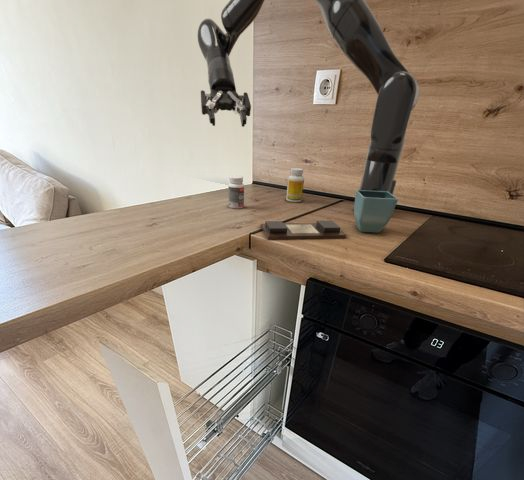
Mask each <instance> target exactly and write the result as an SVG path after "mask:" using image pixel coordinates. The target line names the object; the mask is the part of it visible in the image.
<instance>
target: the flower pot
mask: <svg viewBox="0 0 524 480" xmlns="http://www.w3.org/2000/svg"><path fill="white" fill-rule="evenodd" d="M398 201H399V197H396V196H395V195H394V194H393V195H392V194H391V193H390V192H385V191H366V190H359V189H356V190H355V196H354V206H353V215H354V216H353V217H354V222H355V225H356V227H357V229H358V230H359V232H361V233H375V234H379V233H380V232H381V231H382V230H384V229H385V228H386V226H387V224H388V223H389V222H390V220H391V218H392V215H393V213H394V211H395V209H396V207H397V203H398Z"/></svg>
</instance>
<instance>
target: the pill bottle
mask: <svg viewBox="0 0 524 480" xmlns="http://www.w3.org/2000/svg"><path fill="white" fill-rule="evenodd" d="M228 181H229V183H228V185H227V187H228V207H229V208H230V209H235V210H236V209H237V210H238V209H243V208H244V207H245V185H244V177H243V176H242V175H230V176H229V177H228Z"/></svg>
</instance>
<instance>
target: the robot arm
mask: <svg viewBox="0 0 524 480" xmlns="http://www.w3.org/2000/svg"><path fill="white" fill-rule="evenodd" d="M265 1H266V0H229V1H228V2H227V3H226V5H225V6H224V7H223V8H222V10H221V13H220V20H221V23H222V26H223V28H224V30H225V32H226V33H225V32H224V30H222V28H221V27H220V26H219V25H218V24H217V23H216V22H215V21H214V20H213V19H212V18H204V19H203V20H202V21H201V22H200V24H199V26H198V29H197V43H198V47H199V49H200V51H201V53H202V56H203V58H204V61H205V62H206V67H207V68H206V69H207V78H208V79H207V80H208V81H207V82H208V85H209V90H210V93H206V91H205V90H200V107H201V114H202V116H203V115H204V116H205V115H207V116H208V120H209V123H210V124H211V125H212V126H213V127H216V115H215V114H217V113H218V112H219V111H229V112H230V111H231V112H233V113H234V114H235V115H239V118H240V124H241V127H245V125H247V122H248V121H247V119H248V117H250V116H251V111H252V110H251V109H252V104H251V101H250V97H249V94H248V92H246V91H245V92H243V94H242V95H241V94H239V93H238V92H237V88H236V82H235V78H234V72H233V69H232V66H231V61H230V55H231V52H232V51H233V48H235V47H234V46H235V45H236V43H237V42H238V40H239V38H240V36H241V35H242V34H243V33H244V32H245V31H246V30H247V29H248V28H249V26H251V24H252V23H253V22H254V21H255V19H257V16H258V15H259V13H260V11H261V10H262V8H263V6H264V3H265ZM315 1H316V3H317V5H318V6H319V9H320V12H321V15H322V17H323V20H324V23H325V25H326V28H327V30H328V32H329V34H330V36H331V38H332V39H333V41H334V42H335V43H336V45H337V46H338V48H339V50H340V51H341V52H342V53H343V55H344V56H345V57H346V58H347V59H348V61H350V63H351V64H352V65H353V66H354V67H355V69H357V70H358V71H359V72H361V73H362V75H364V77H365V78H366V79H367V80H368V81H369V82H370V84H371V85H372V87H373V89H374V91H375V92H376V94H377V98H376V102H375V107H374V111H373V117H372V123H371V127H370V133H369V134H370V135H369V138H370V139H369V145H368V149H367V154H366V157H365V162H364V167H363V171H362V176H361V181H360V185H359V189H358V190H366V191H385V192H390V193H391V194H392V195H394V191H395V187H396V184H397V180H395V177H396V173H397V170H398V167H399V162H400V159H401V156H402V152H403V148H404V145H405V141H406V132H407V128H408V124H409V121H410V117H411V113H412V111H413V110H414V108H415V107H416V106H417V103H418V101H419V97H420V84H419V81H418V79H417V78H416V77H415V76H414V75H413V74H412V73H411V72H410V71H409V70H408V69H407V68H406V67H405V65H404V64H403V63H402V62H401V61H400V60H399V58H398V57H397V55H396V54H395V53H394V51H393V49H392V47H391V46H390V44H389V42H388V40H387V37H386V35H385V34H384V31H383V29H382V27H381V26H380V24H379V22H378V20H377V18H376V17H375V15H374V13H373V12H372V9H371V8H370V7H369V5H368V3H367V1H366V0H315ZM209 101H210V103H209V104H208V102H209ZM207 104H208V105H207Z"/></svg>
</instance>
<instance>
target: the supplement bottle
mask: <svg viewBox="0 0 524 480" xmlns="http://www.w3.org/2000/svg"><path fill="white" fill-rule="evenodd" d="M303 175H304V168H300V167H291V169H290V175H289V176H288V178H287V186H286V198H285V200H286V201H287V202H290V203H301V202H302V201H303V193H304V184H305V178H304V176H303Z"/></svg>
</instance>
